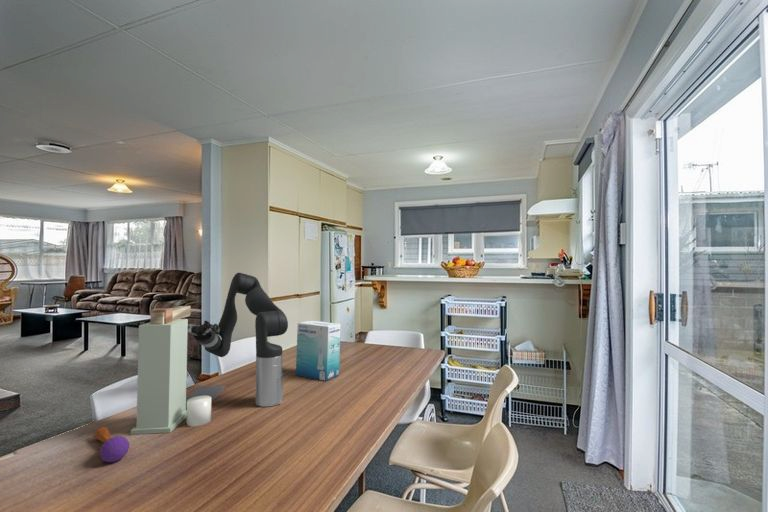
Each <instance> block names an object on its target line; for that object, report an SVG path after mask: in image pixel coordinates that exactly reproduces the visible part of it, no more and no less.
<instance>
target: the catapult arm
mask: <svg viewBox="0 0 768 512" xmlns="http://www.w3.org/2000/svg"><path fill="white" fill-rule="evenodd" d="M191 306H192V305H178V306H174V307H171V308H170V307H169V308H168V307H167V308H166V307H162V308H161V307H160V308H159V307H158V308H153V309H150V319H149V320H150V324H151V325H163V324H167V323H170V322H172V321H175V320H178V319H185V318H187V317H190V316H191V312H192V311H191V309H192V307H191Z"/></svg>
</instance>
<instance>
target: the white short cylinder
mask: <svg viewBox="0 0 768 512" xmlns="http://www.w3.org/2000/svg"><path fill="white" fill-rule="evenodd" d="M211 421H212V402H211V397H210V396H197V397H193V398H190V399H189V400H187V417H186V424H185V425H186V426H188V427H201V426H205V425H207V424H208V423H210V422H211Z"/></svg>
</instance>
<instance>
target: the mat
mask: <svg viewBox="0 0 768 512" xmlns="http://www.w3.org/2000/svg"><path fill="white" fill-rule="evenodd" d="M225 388H226V385H208V386H207V385H206V386H203V385H202V386H198V387H197V388H196V389H194V390H193V391H192V392H191V393H190V394H189V395H187V396H186V410H187V400H189V399H190V398H193V397H197V396H210V397H211V403H212V402H213V401H214V400H215V399H216V398H217V397H218V395H220V394H221V392H222V391H223V390H225Z"/></svg>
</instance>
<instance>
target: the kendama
mask: <svg viewBox="0 0 768 512" xmlns="http://www.w3.org/2000/svg"><path fill="white" fill-rule="evenodd" d="M93 436H94V437H93V438H95V439H96V440H98V441H100V442H102V443H103V444H102V446H101V447H100V450H99V456H100V458H101V459H102V460H103V462H105V463H115V462H118V461H120V460H121V459H123V458H124V457H125V456H126V455H127V453H128V452H129V450H130V442H129V440H128V438H126V437H125V436H122V435H116V436H113V437H111V434H110V430H109V428H107V427H106V426H102V427H99V428H97V429H96V430H95V432H94V434H93Z"/></svg>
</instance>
